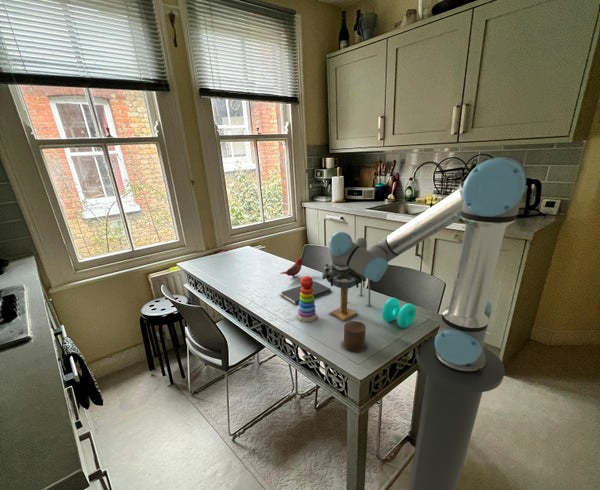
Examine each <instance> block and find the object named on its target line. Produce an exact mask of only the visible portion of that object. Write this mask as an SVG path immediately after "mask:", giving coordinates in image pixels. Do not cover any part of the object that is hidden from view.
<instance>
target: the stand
mask: <svg viewBox="0 0 600 490" xmlns="http://www.w3.org/2000/svg"><path fill="white" fill-rule="evenodd" d="M366 330H367V326H366V325H365V324H364V322H361V321H358V320H350V321H347V322H345V323H344V325H343V348H344V349H345V350H346V351H349V352H353V353H356V352H361V351H363V350H364V349H365V347H366V334H367V333H366V332H367V331H366Z"/></svg>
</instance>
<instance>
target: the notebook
mask: <svg viewBox="0 0 600 490" xmlns="http://www.w3.org/2000/svg"><path fill="white" fill-rule="evenodd" d="M311 287H312V288H313V291H312V292H313V296H314V298H317V297H320V296H323V295H325V294H328V293H331V288H330V287H328V286H326V285H323V284H322V283H319V282H317V281H314V280H313V285H312V286H311ZM301 288H302V286H301V285H299V286H295V287H293V288H290V289H286V290H283V291H281V292H280V293H281V297H282V298H284V299H286V300H287V301H289V302H291V303H292V304H294V305H297V304H298V305H299V301H300V293H301Z"/></svg>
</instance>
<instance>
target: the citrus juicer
mask: <svg viewBox="0 0 600 490" xmlns="http://www.w3.org/2000/svg"><path fill="white" fill-rule="evenodd" d="M355 244H357V245H359V246H360V247H362V248H364V249H366V250H368V243H367V240H366V238H364V237H358V238H357V239H356V240H355ZM367 291H368V292H367V293H368V303H367V304H368V305H367V306H368V307H371V280H370V279H368V278H367ZM359 295H360V297H362V296H363V280H362V281H361V284H360V293H359Z"/></svg>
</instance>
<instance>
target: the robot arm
mask: <svg viewBox="0 0 600 490" xmlns="http://www.w3.org/2000/svg"><path fill="white" fill-rule="evenodd" d="M526 185H527V171H526V167H525V166H524V164H523V163H522V162H521V161H520V160H519V159H517V158H515V157H514V156H511V155H498V156H495V157H494V156H493V157H491V158H489V159H486V160H484V161H482V162H480V163H479V164H477V165H476V166H475V167H474V168H473V169H471V171H470V172H469V174H468V175H466V177H465V179H464V180H463V181H462V182H460V183H459V186H458V188H457V189H456V190H455V191H453V192H451V193H450V194H449V195H447V196H446V197H444V198H443V199H441V200H439V201H437V203H435V204H434V205H432V206H431V207H429V208H427V209H426V210H424V211H423V212H421V213H420V214H418V215H417V216H415V217H414V218H412V219H410V220H409V221H408V222H406V223H405V224H403V225H402V226H400V227H398V228H397V229H396V230H394V231H393V232H391V233H390V234H388V235H387V236H385V237H383V238H382V239H379V241H377V242H376V243H375V244H373V245H372V246H371V247H369V248H367V249H364V248H362V247H360V246H359V245H357V244H356V242H354V241H353V238H352V236H351V235H350V234H349V233H348V232H344V231H339V232H336V233H334V234H332V235H331V236H330V238H329V240H328V252H329V255H330V260H331V265H329V264H328V263H326V264H324V269H323V272H322V276H321V278H322V280H326V281H327V283H329V285H330V287H333V283H332V280H333V277H335V276H338V275H348V276H349V277H353V278H354V279H356V280H357V281H356V288H357V289H358V288H359V284H360V285H361V281H362V282H367V280H368V279H370V281H371V282H373V283H374V282H379V281H380V280H381V279H382V277H384V275H385V273H386V271H387V269H388V268H389V262H390V261H392V260H393V259H396V258H397V257H399V256H400V255H401V254H403V253H405V252H407V251H408V250H411V249H412V248H414V247H415V246H417V245H420V243H422V242H424V241H425V240H427V239H430V238H431V237H432V236H434V235H436V234H437V233H439V232H441V231H443V230H444V229H446V228H447V227H449V226H451V225H453V224H454V223H456V222H457V221H459V220H461V219H462V221H463V223H465V227H464V232H463V236H462V240H461V246H460V252H459V257H458V262H457V266H456V273H455V276H454V281H453V287H452V292H451V297H450V301H449V306H446V307H445V308H443V310H442V313H441V318H440V322H439V328H438V332H437V334H436V335H435V336H434V338H435V348H436V352H435V357H436V359H437V360H438V362H439V363H440V364H442V365H443V366H444V367H446V368H448V369H450V370H453V371H456V372H460V373H477V372H480V374H483V373H482V371H481V370H482V369H483V368H484V365H485V354H484V348H483V347H484V342H485V338H486V334H487V330H488V327H489V326H488V325H489V322H490V318H491V314H492V313H493V311H492V308H493V305H492V303H491V302H490V301H488V300H489V296H490V291H491V287H492V284H493V279H494V276H495V273H496V268H497V264H498V260H499V256H500V251H501V249H502V244H503V240H504V236H505V232H506V229H507V227H508V226H510V225H512V224H514V223H515V222H516V219H517V216H518V212H519V209H520V204H521V202H522V197H523V195H524V193H525V191H526Z"/></svg>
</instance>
